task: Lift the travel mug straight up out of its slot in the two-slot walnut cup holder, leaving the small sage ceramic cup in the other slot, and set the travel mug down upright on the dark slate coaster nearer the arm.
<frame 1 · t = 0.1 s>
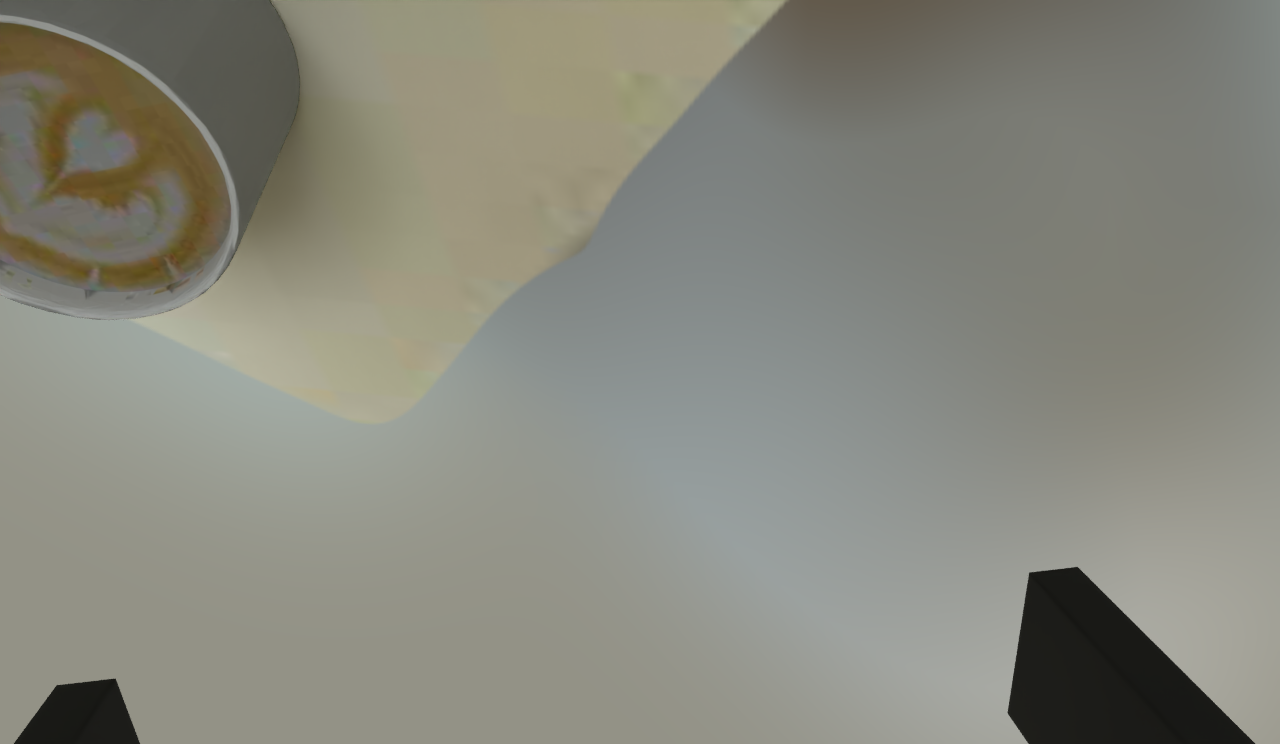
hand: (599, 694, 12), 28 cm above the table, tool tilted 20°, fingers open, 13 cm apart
coffee mug: (115, 55, 32), on the table
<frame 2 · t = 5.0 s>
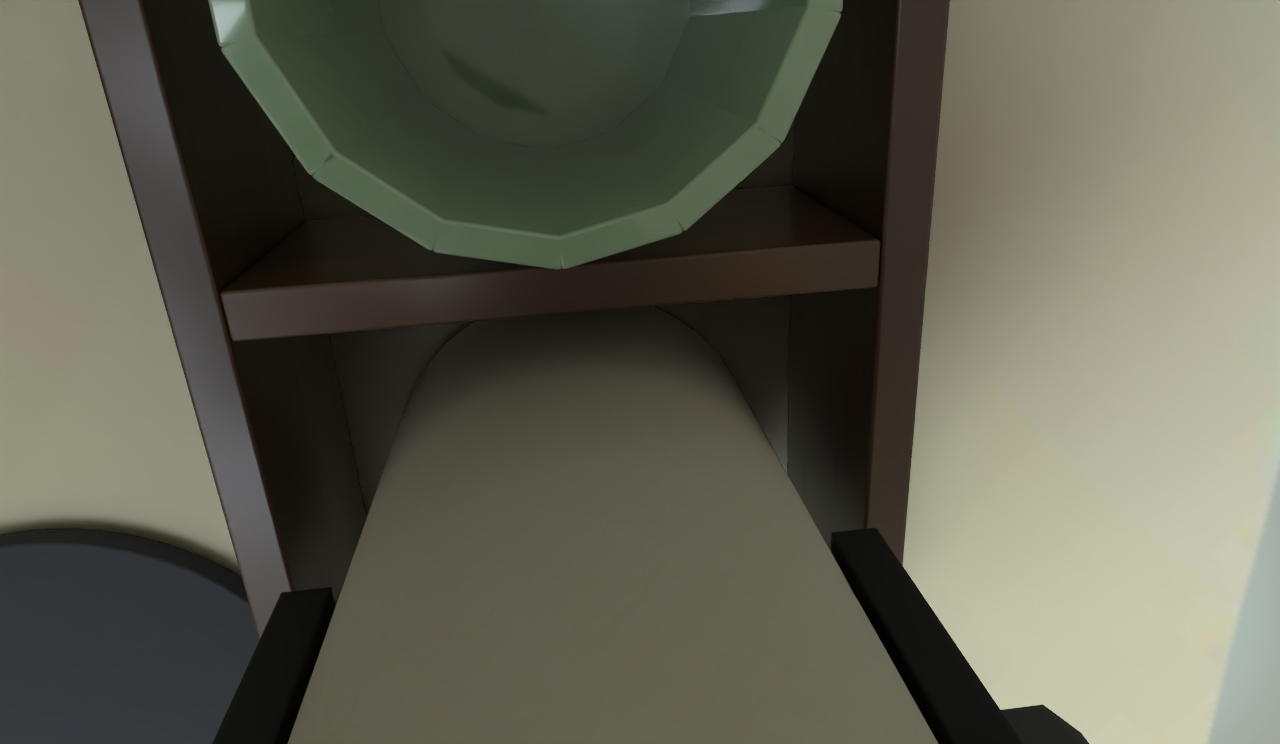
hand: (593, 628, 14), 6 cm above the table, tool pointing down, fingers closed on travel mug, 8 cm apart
travel mug: (576, 447, 20), resting in cup holder, touching gripper
slate coaster: (106, 717, 21), on the table
cup holder: (560, 267, 18), on the table
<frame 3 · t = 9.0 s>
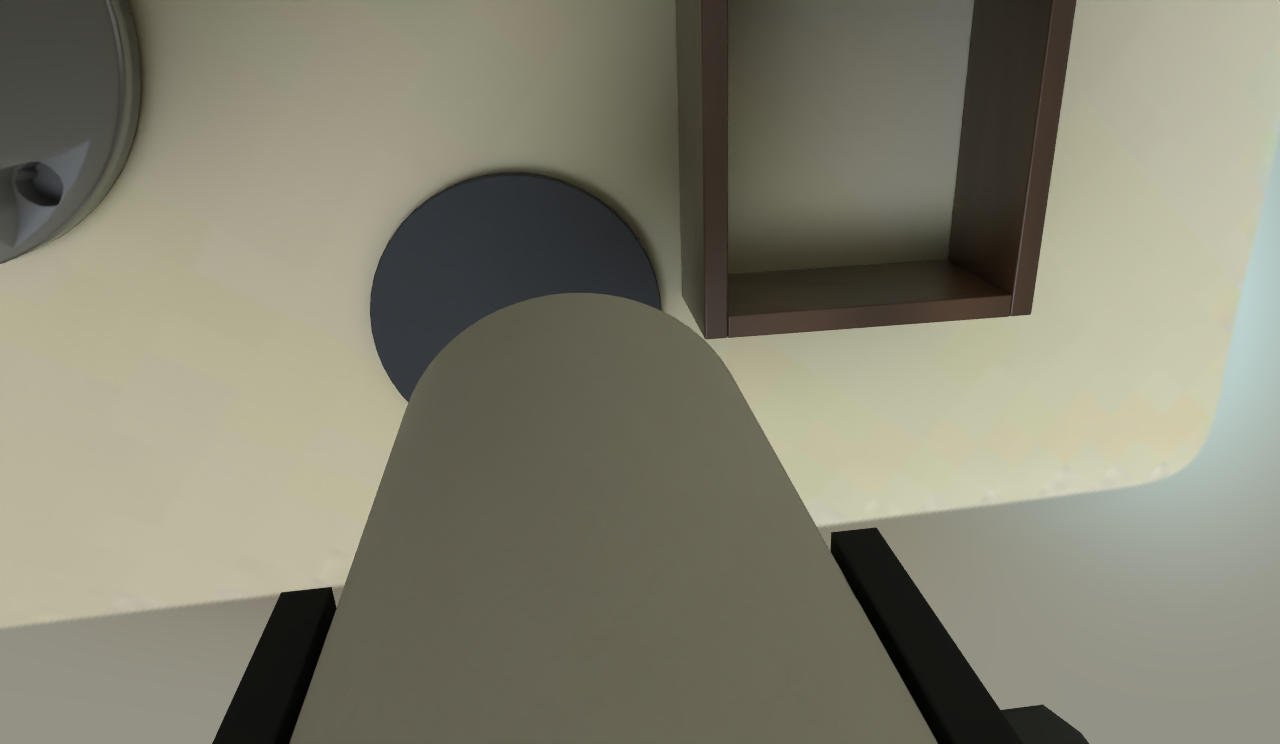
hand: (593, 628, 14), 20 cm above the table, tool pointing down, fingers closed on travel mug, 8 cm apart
travel mug: (577, 448, 20), point 14 cm above the table, touching gripper
slate coaster: (519, 316, 32), on the table
cup holder: (838, 8, 29), on the table
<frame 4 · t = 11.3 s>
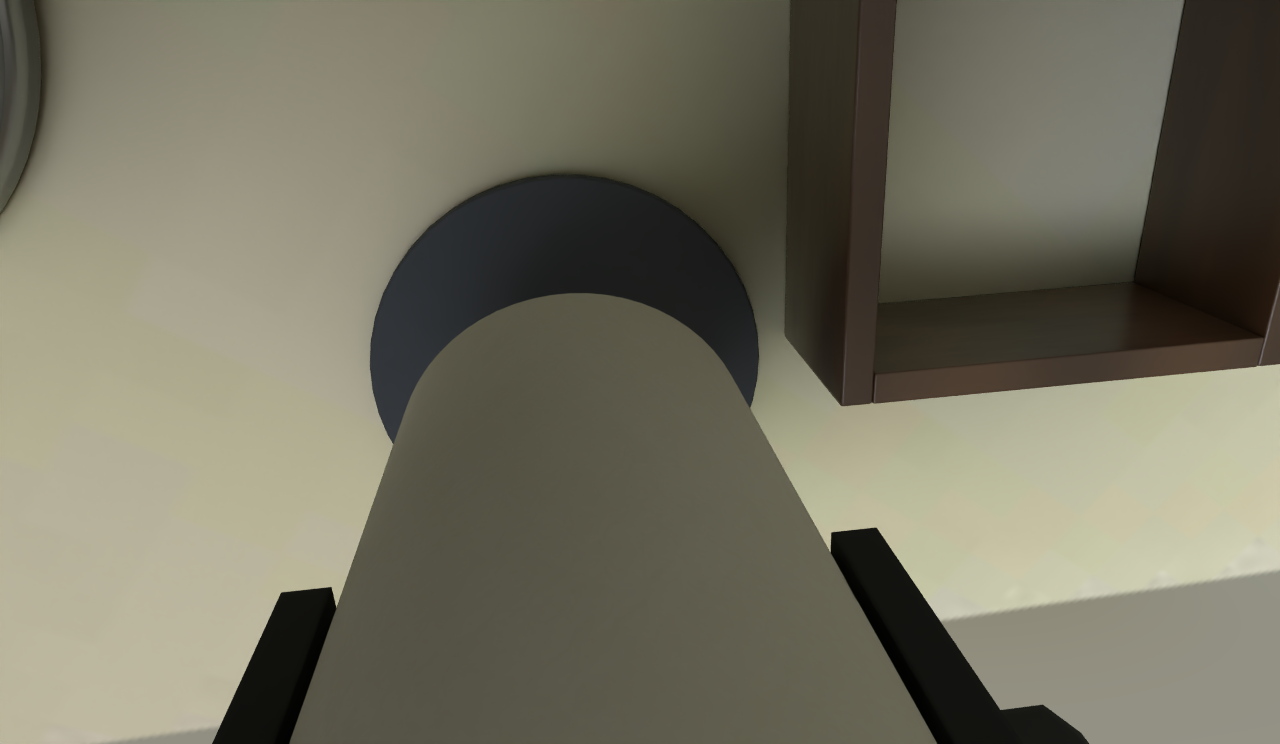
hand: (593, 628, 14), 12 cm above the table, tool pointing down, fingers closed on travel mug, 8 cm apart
travel mug: (577, 449, 20), point 5 cm above the table, touching gripper
slate coaster: (568, 366, 24), on the table
when the fingers open (7 cm above the table, at t = 13.1 s): travel mug stays where it is, resting on slate coaster.
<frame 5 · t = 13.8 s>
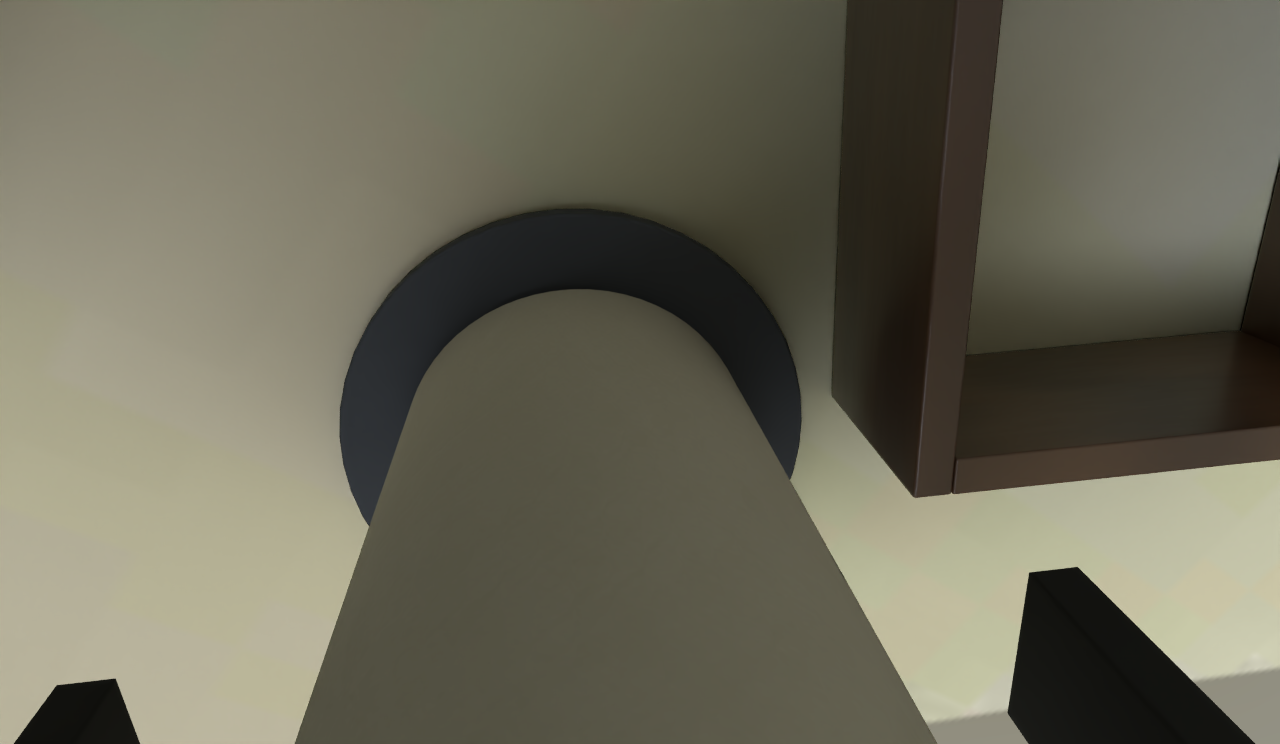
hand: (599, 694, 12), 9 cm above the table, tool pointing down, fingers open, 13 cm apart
travel mug: (578, 441, 20), resting on slate coaster
slate coaster: (576, 431, 20), on the table
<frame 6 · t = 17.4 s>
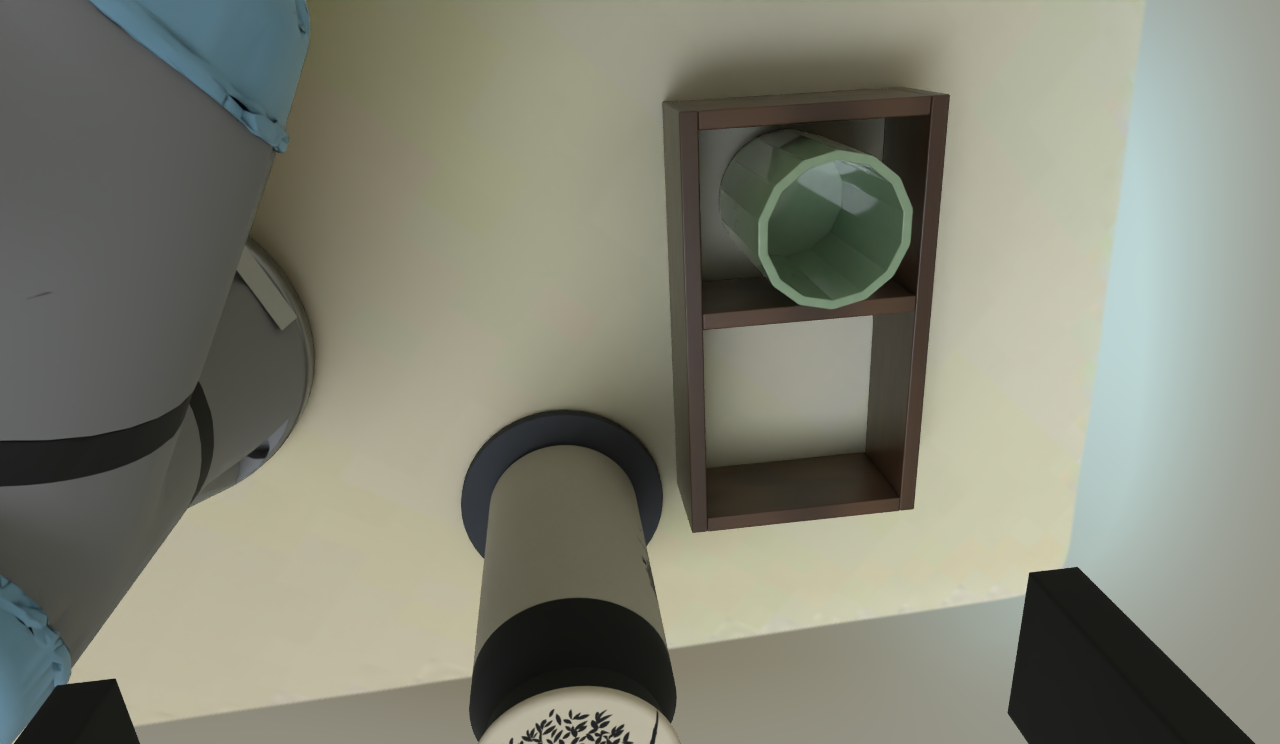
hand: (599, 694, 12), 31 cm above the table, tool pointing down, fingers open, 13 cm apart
travel mug: (563, 504, 46), resting on slate coaster
slate coaster: (563, 500, 46), on the table
cup holder: (781, 301, 43), on the table
sage cup: (782, 196, 41), resting in cup holder
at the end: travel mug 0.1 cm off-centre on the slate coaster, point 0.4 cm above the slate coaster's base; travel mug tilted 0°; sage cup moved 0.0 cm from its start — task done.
